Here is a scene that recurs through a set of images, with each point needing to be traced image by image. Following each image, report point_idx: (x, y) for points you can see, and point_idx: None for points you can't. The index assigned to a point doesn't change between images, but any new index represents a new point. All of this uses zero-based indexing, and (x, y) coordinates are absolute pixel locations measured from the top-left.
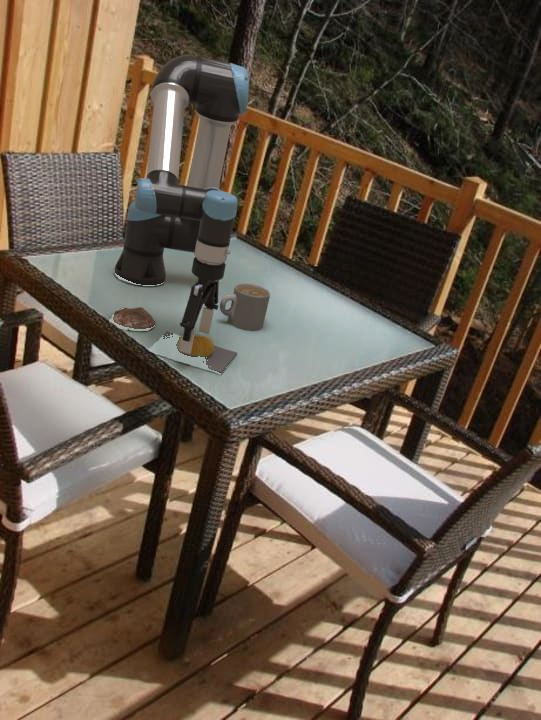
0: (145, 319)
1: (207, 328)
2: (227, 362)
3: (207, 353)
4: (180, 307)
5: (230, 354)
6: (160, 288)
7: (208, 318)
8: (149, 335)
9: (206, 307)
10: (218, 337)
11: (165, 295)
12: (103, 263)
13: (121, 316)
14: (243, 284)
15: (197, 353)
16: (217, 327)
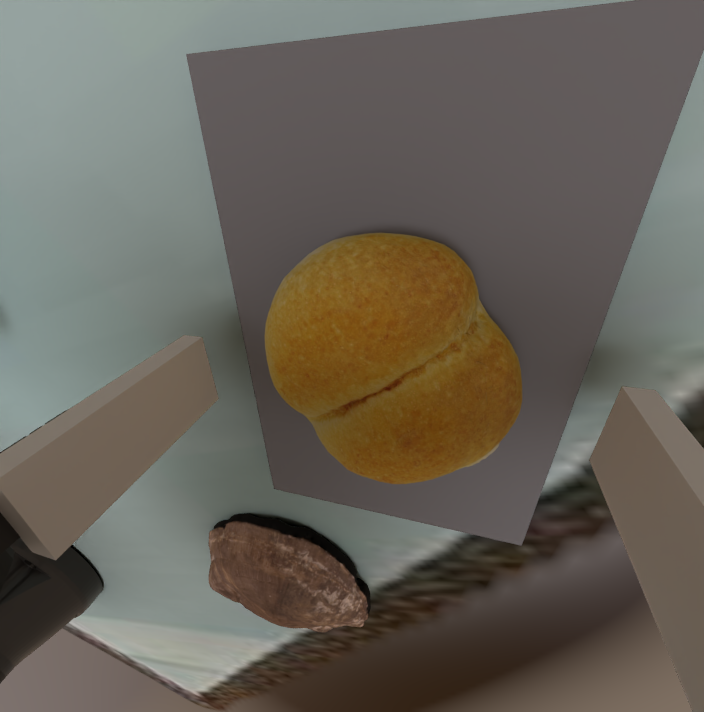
0: (287, 580)
1: (176, 373)
2: (426, 47)
3: (459, 261)
4: None
5: (260, 96)
6: None
7: (108, 434)
8: (342, 525)
9: (15, 539)
10: (108, 274)
11: None
12: None
13: (321, 627)
14: None
15: (497, 331)
16: (37, 308)
